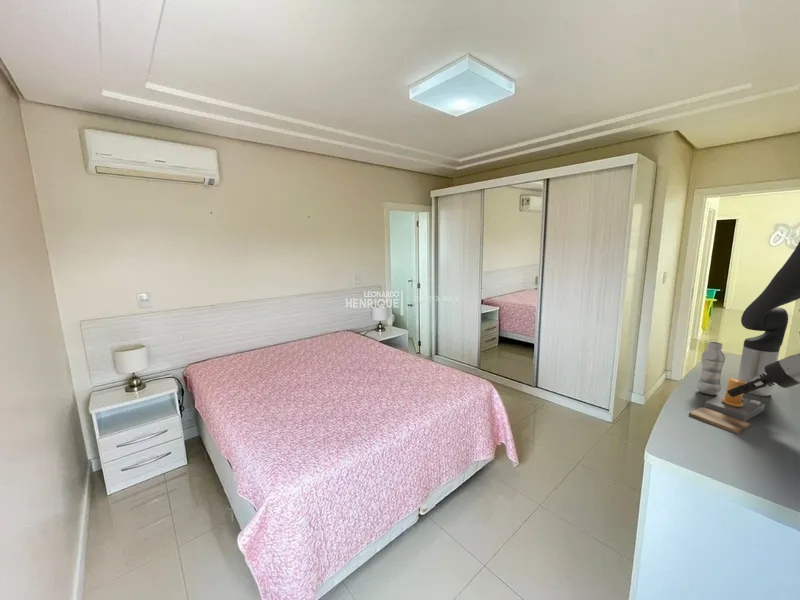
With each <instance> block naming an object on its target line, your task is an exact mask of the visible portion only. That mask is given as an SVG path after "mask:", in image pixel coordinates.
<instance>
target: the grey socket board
mask: <svg viewBox="0 0 800 600" xmlns="http://www.w3.org/2000/svg"><path fill="white" fill-rule="evenodd" d="M725 395H726V392H724V393H721V394H720V395H719V394H718V395H716V396H715V397H712V398H710V399H709V400H706V401H705V402H704V406H703V407H704V408H707V409H710V410H713V411H716V412H719V413H722V414H725V415H728V416H731V417H734V418H737V419H739V420H742V421H745V422H747V421H748V420H750V419H752V418H753V417H755V416H758V415H759V414H760V413H763V412H764V411H765V406H766V404H765V403H762V402H761V401H759V400H755V399H749V398H746V397H743V398H742V402H743V407H740V408H735V407H732V406H729V405H726V404H725V403H724V402H723V401H722V400H723V398H725Z"/></svg>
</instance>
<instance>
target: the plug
mask: <svg viewBox="0 0 800 600" xmlns="http://www.w3.org/2000/svg"><path fill="white" fill-rule="evenodd" d="M743 384H745V382H744V381H742V380H739V379H738V378H734V377H733V378H731V377H730V378H728V380H727V386H726V391H725V393H726V395H725V398H723V400H722V401H723V402H724V403H725V404H726V405H729V406H732V407H735V408H740V407H743V402H742V398H744V393H743V394H740V395H737V396H735V397H731V396H730V395H729V393H728V392H727V391H728V390H731V389H733V388H736V387H738V386H739V385H743ZM744 387H745V386H744Z"/></svg>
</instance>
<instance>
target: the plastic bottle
mask: <svg viewBox="0 0 800 600" xmlns="http://www.w3.org/2000/svg"><path fill="white" fill-rule="evenodd" d="M707 347H708V348H707V349H705V350H704V351H703V352H702V353H701V369H700V370H701V372H700V376H699V379H698V380H697V384H696V386H697V387H696V388H697V390H698V391H699V392H700V393H703V394H705V395H709V396H719V394H720V393H721V391H722V385H721V376H722V374H721V373H722V370H723V367H724V363H725V362H726V356H725V354H724V353H723V351H722V349H723V343H722V342H717V341H708V344H707Z"/></svg>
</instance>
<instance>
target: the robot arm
mask: <svg viewBox="0 0 800 600" xmlns="http://www.w3.org/2000/svg"><path fill="white" fill-rule="evenodd" d="M797 300H800V240H799V241H798V243H797V245H796V247H795V248H794V250H793V252H792V253H791V254H790V256H789V257H788V258H787V260H786V261H785V263H784V264H783V265H782V266H781V267H780V269H779V270H778V271H777V272H776V273H775V275H774V276H773V278H772V279H771V280H770V282H769V283H768V285H767V286H765V288H764V289H763V291H762V292H761V293H760V294H759V295H758V296H757V297H756V298H755V299H754V300H753V301H751V303H750V304H749V305H748V306H747V307H746V308H745V310H744V311H743V312H742V314H741V318H740V321H741V326H742V327H743V328H745V329H746V330H749V331H750V330H751V331H755V332H756V331H757V332H763V333H762V334H760V335H757V336H754V337H753V336H752V337H748V338H745V339H744V340H743V345H742V353H741V358H740V364H739V370H738V375H737V379H739V380H742V381H744V382H745V384H743V385H739V386H738V387H736V388H733V389H731V390H728V391H727V392H728V393H729V395H730V396H731V397H735V396H737V395H740V394H743V395H744V394H750V395H754V396H759V397H770V396H771V395H772V390H773V386H775V385H778V386H779V387H781V388H782V389H788V388H791V387H793V386H796V385H800V352H799V353H797V354H793V355H792V354H791V355H789V356H787V357H784V358H782V359H779V354H780V349H781V347H782V345H783V342H784V338H785V334H786V331H787V327H788V324H789V323H788V322H789V313H788V312H787V310H786V309H785V308H783V307H781V306H784V305H787V304H789V303H792V302H795V301H797ZM744 386H745V387H744ZM769 395H770V396H769Z"/></svg>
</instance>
